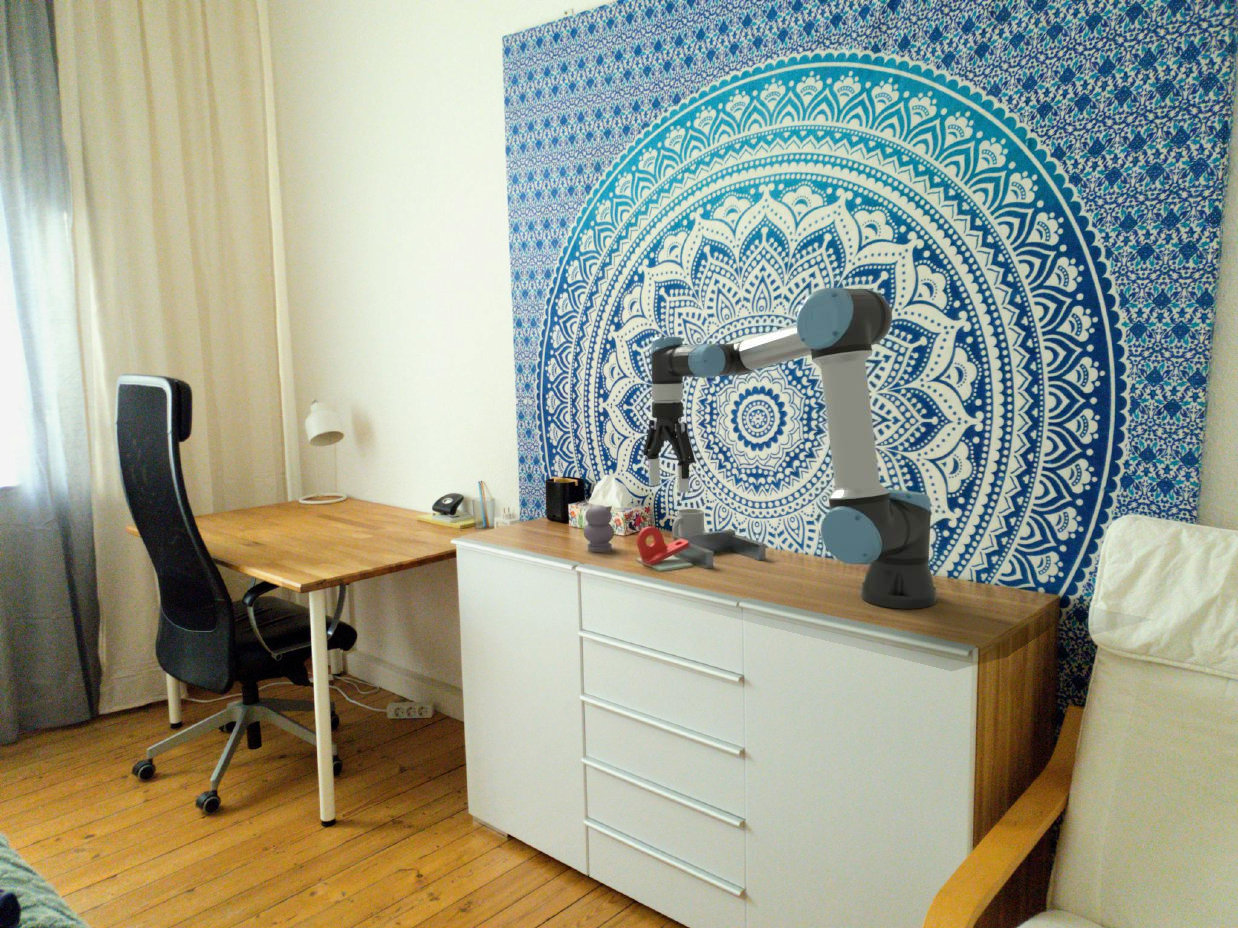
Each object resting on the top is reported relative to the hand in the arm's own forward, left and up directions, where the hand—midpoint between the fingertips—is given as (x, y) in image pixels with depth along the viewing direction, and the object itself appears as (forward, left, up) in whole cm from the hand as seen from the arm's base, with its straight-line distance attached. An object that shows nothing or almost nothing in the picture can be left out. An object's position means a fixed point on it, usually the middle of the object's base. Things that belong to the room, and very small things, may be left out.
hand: (668, 488), depth 214 cm
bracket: (+1, 0, -17) cm, 17 cm away
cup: (+16, -15, -19) cm, 29 cm away
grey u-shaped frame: (+1, -14, -19) cm, 24 cm away
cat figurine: (+23, +8, -19) cm, 31 cm away
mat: (+1, +1, -19) cm, 19 cm away
